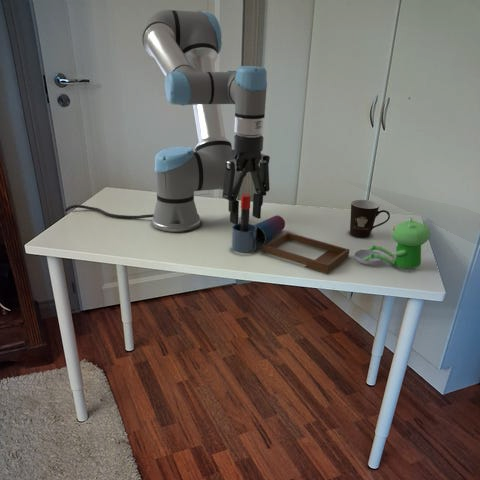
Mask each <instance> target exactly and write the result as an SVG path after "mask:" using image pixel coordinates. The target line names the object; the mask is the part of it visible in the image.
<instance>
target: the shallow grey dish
mask: <svg viewBox="0 0 480 480" xmlns="http://www.w3.org/2000/svg"><path fill="white" fill-rule="evenodd" d="M372 254H377V255H381V256H384V255H383V254H382V253H380V252H379V251H377V250H367V249H360V250H359V249H358V250H356V251H354V253H353V256H354V259H355V261H356V262H359V263H360V264H361V263H362V264H361V265H367V266H375V265H376V266H377V265H379V264H381V263H382V262H383V261H384V260H382V259H379V258H371V259H369V260H367V261H366V260H363V259H364V258H366V257H368V256H370V255H372Z"/></svg>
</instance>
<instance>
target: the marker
mask: <svg viewBox="0 0 480 480" xmlns="http://www.w3.org/2000/svg"><path fill="white" fill-rule="evenodd" d="M251 199H252V197H251V195H250V194H248V193H243V194H240V223H241V229H240V231H244V232H246V231H249V224H250V209H251Z"/></svg>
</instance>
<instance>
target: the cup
mask: <svg viewBox="0 0 480 480" xmlns="http://www.w3.org/2000/svg"><path fill="white" fill-rule="evenodd" d="M254 225H255V226H256V227H257V239H256V242H258V241H260V240H261V239H263V238H264V242H263V243H262V244H261V245H260V246H259V248H263V245H265V244H267V243H269V242H271V241H272V240H273V238H274V237H276V236H277V235H278V234H279V233H281V231H283V230H284V229H285V228H286V221H285V219H284V218H283V217H282V216H281V215H277V214H276V215H274V216H271V217H268V218H265V219H264V220H262V221H260V222H258V223H255V224H254Z"/></svg>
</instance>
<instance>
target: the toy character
mask: <svg viewBox="0 0 480 480" xmlns="http://www.w3.org/2000/svg"><path fill="white" fill-rule="evenodd" d="M391 236H392V238H393V240H394V242H396V243H397V244H396V246H395V247H394V248H395V252H394V253H393V252H391V251H389V250H388V249H386V248H384V247H381V246H378V245H372V246H370V247H369V248H367V249H366V250H373V251H380V252H382V253H384V254H385V255H388V256H389V257H391V258H389V257H386V256H384V255H383V256H381V255H377V254H372V255H370V256H368V257H366V258H364V259H363V260H366V261H367V260H369V259H371V258H379V259H382V260H383V261H385V262H388V263H390V264H392V265H393V266H397V267H400V268H404V269H413V268H418V267H420V266H421V264H422V245H424V244H426V243H427V242H428V241H429V239H430V237H431V231H430V228H428V226H427V225H426V224H424V223H423V222H419V221H414V219H413V217H409V218H408V221H402V222H399V223H398V224H396V225H395V226H393V227H392V231H391ZM360 264H361V265H363V264H362V263H360Z"/></svg>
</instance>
